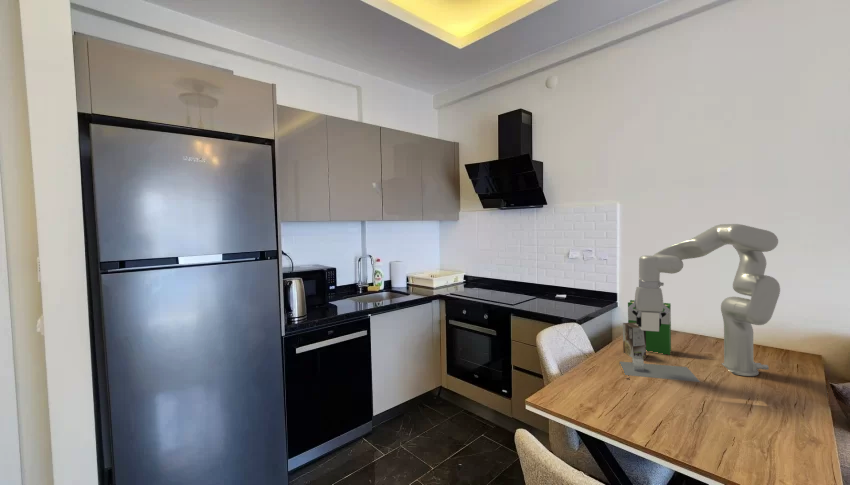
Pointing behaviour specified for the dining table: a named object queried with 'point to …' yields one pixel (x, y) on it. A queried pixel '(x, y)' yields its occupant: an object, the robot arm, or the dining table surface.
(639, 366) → the post
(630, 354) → the coffee box
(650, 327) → the small cream cube
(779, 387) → the dining table surface
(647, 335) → the hardback book
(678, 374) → the board
